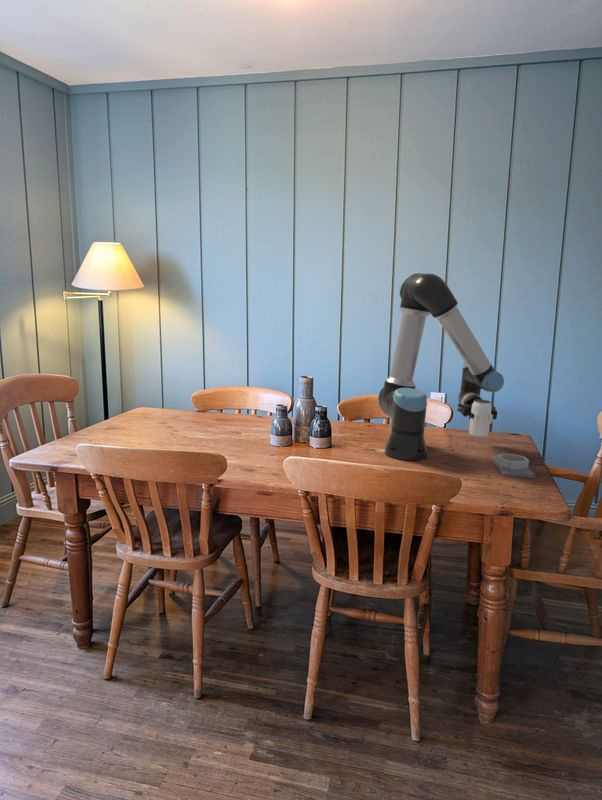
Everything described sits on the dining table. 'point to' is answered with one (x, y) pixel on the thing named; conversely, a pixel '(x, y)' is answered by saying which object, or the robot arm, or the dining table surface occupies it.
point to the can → (480, 418)
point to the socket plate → (513, 465)
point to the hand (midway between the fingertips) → (484, 419)
